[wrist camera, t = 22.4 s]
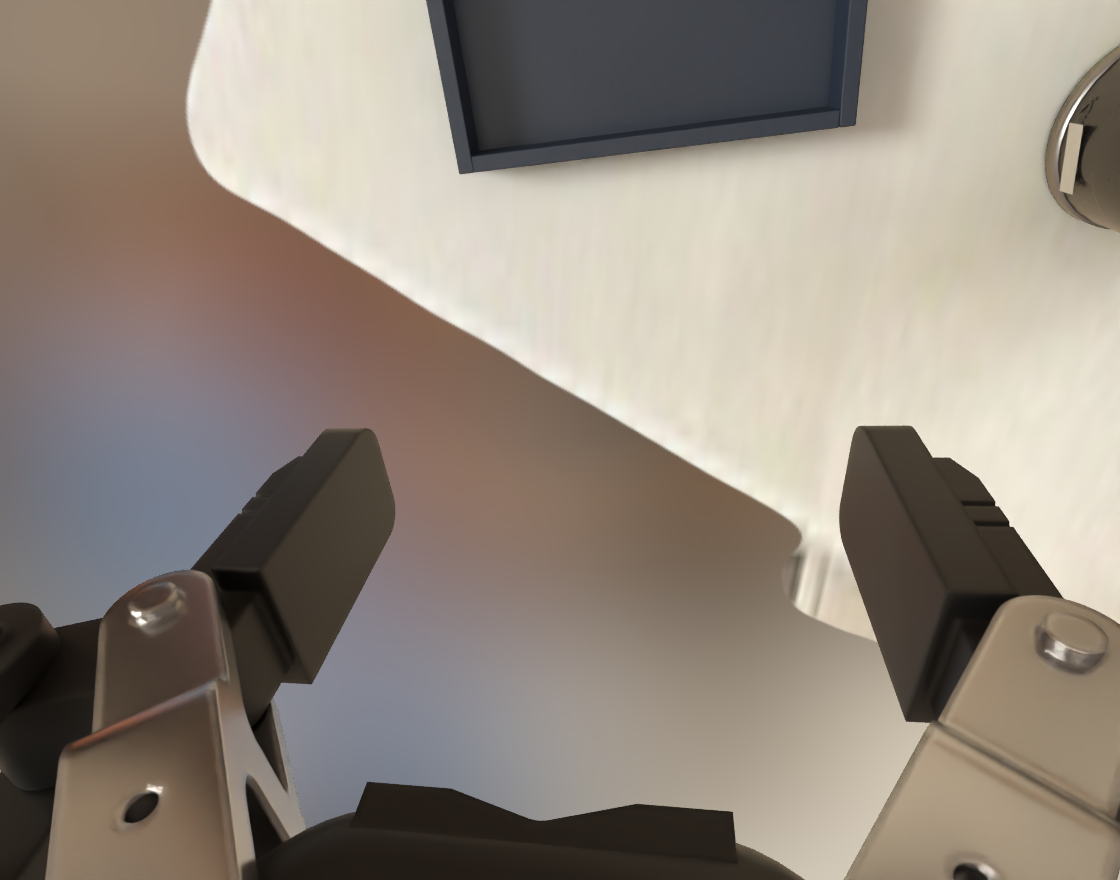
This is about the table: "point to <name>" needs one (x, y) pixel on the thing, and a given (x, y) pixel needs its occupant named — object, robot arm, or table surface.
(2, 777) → the robot arm
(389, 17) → the table surface
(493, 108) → the pan
